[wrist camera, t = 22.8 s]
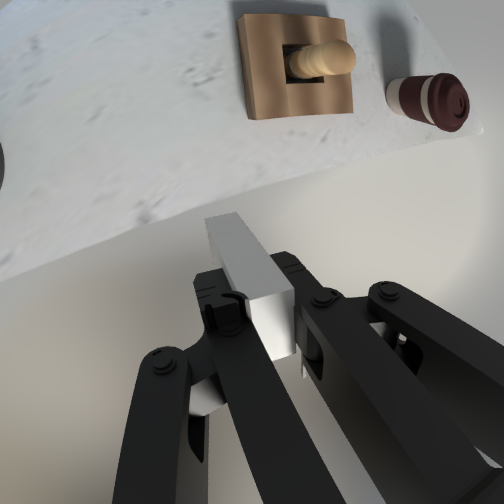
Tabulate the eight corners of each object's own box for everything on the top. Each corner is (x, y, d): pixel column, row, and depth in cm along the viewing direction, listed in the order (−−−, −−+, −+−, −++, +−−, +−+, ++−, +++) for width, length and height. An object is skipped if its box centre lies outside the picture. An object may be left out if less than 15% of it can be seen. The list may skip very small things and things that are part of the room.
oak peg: (279, 81, 41) (325, 74, 29) (276, 53, 39) (320, 37, 27) (307, 80, 42) (358, 75, 30) (304, 52, 40) (354, 39, 28)
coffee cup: (374, 109, 48) (435, 119, 35) (385, 63, 44) (447, 62, 31) (409, 128, 51) (467, 143, 39) (419, 85, 48) (478, 91, 35)
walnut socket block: (248, 119, 43) (256, 120, 40) (236, 21, 35) (243, 13, 32) (339, 111, 46) (353, 113, 43) (331, 23, 38) (344, 19, 35)
